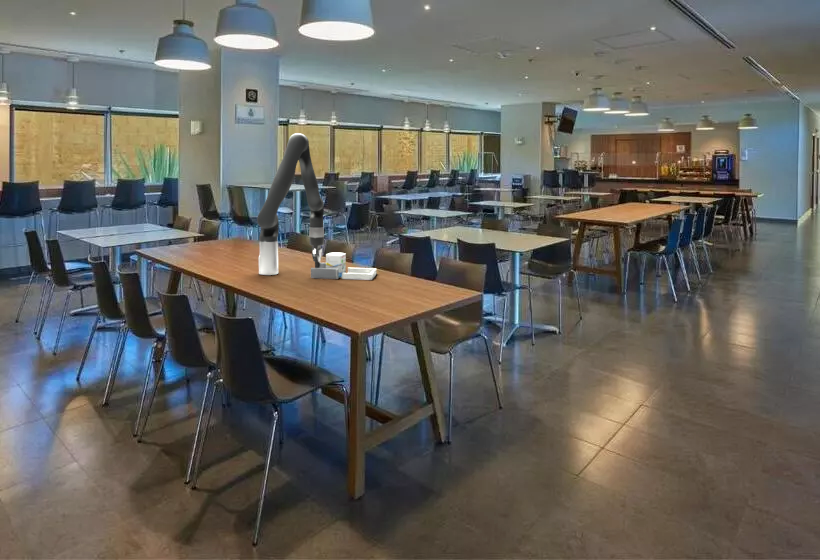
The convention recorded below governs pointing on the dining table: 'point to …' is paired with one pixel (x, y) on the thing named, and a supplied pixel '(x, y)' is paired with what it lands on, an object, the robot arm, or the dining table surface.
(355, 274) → the tray frame
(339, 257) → the ink box
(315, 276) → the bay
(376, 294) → the dining table surface
